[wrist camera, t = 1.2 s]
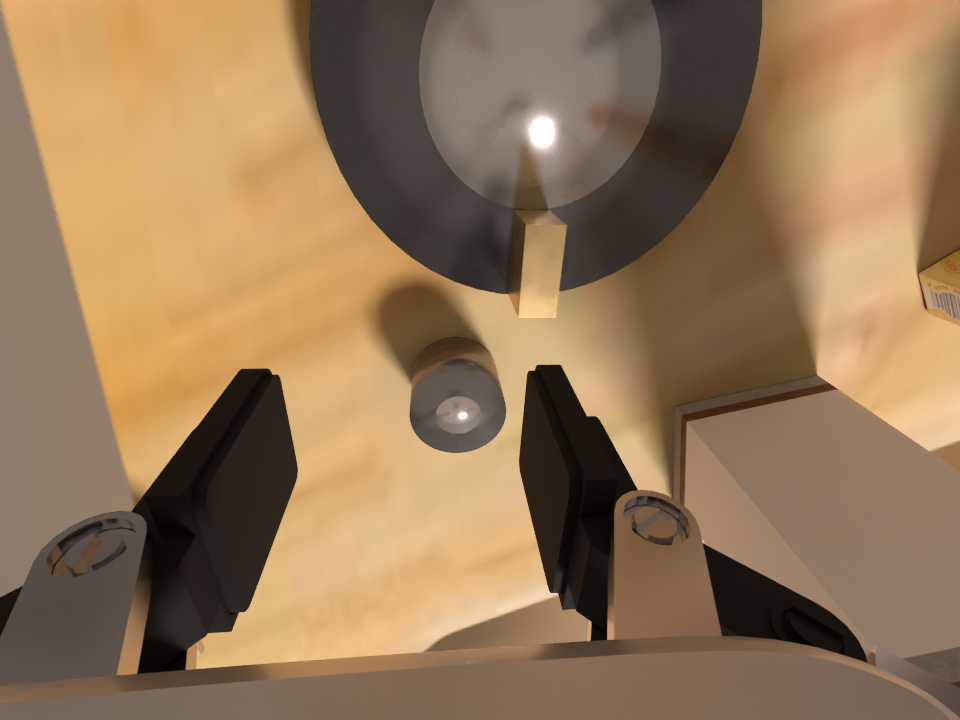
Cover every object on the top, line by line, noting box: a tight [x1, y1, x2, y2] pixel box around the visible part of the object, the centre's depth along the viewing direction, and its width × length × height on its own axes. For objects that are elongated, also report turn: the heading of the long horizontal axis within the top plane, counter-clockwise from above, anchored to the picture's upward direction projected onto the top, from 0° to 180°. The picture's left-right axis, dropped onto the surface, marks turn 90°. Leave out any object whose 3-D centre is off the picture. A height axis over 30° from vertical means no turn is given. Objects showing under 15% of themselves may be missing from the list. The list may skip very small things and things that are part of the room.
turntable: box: [309, 0, 762, 318], centre depth 22 cm, size 22×22×6 cm
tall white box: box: [673, 375, 960, 688], centre depth 23 cm, size 11×11×35 cm
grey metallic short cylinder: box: [410, 337, 506, 453], centre depth 31 cm, size 6×6×5 cm
